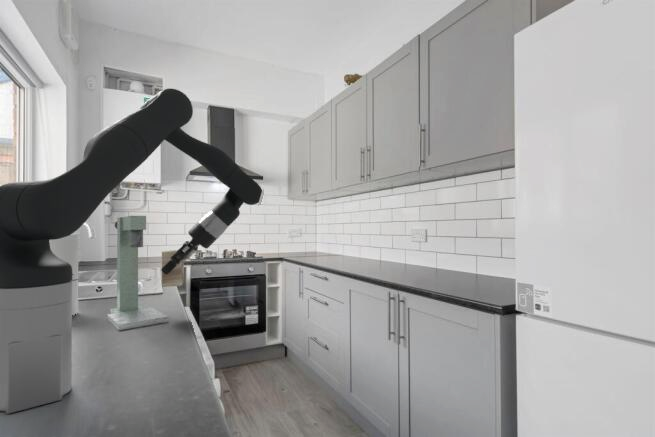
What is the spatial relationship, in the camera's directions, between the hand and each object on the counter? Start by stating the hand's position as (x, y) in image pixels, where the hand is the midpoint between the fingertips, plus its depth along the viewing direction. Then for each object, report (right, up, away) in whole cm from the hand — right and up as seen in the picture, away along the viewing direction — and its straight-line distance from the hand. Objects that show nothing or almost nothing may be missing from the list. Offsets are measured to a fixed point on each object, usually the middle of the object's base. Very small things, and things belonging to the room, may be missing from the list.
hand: (166, 271), depth 102 cm
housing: (+2, -4, 0) cm, 5 cm away
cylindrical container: (-35, -15, +7) cm, 39 cm away
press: (-13, -14, +4) cm, 20 cm away
